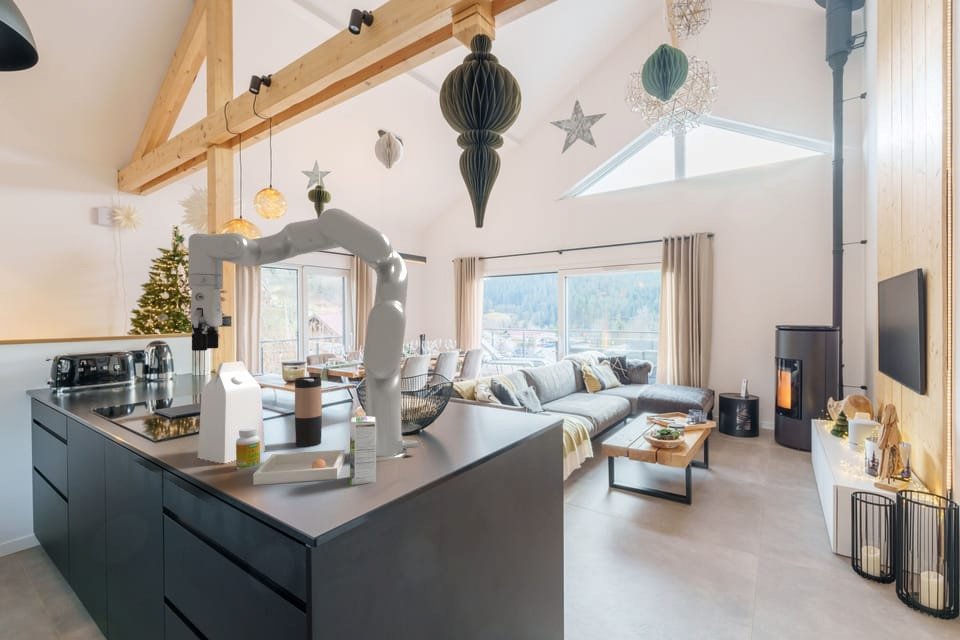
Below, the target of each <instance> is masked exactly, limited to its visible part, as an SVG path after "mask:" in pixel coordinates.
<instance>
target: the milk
mask: <svg viewBox="0 0 960 640" xmlns="http://www.w3.org/2000/svg"><path fill="white" fill-rule="evenodd" d="M262 395H263V393H262V388H261V385H260V384H259V383H258V381H257V380H256V379H255V378H254V376H252V374H251V373H250V372H249V371H248V370H247V368H246V366H245V364H244V361H240V360H239V361H230V362H229V361H228V362H220V363H219V364H218V367H217V370H216V373H215V374H214V375H213V377H212V378H211V379H210V380H209V381H208V382H207V383H206V384H205V385H204V387H203V389H202V392H201V399H200V412H199V413H200V415H199V416H200V417H199V428H198V429H199V433H198V448H197V459H198V458H200V459H199V460H202V459H205V460H204V461H207V460H210V461H209V462H212V461H215V462H214V463H217V462H219V463H218V464H221V463H227V464H229V463H228V462H230V463H232V462H231V461H233V462H235V461H234V460H236V441H237V439H238V438H240V436H239V430H240V429H243V428H249V427H255V428H257V434H256V436H258V437H259V438H260V454H262V453H265V452H266V448H265V447H266V446H265V443H266V442H265V431H264V429H265V428H264V427H265V426H264V414H263V413H264V412H263V411H264V410H263V396H262ZM264 451H265V452H264ZM261 452H262V453H261Z"/></svg>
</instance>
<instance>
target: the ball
mask: <svg viewBox="0 0 960 640" xmlns="http://www.w3.org/2000/svg"><path fill="white" fill-rule="evenodd" d="M325 467H326V463H325V461H324V460H323V459H316V460H315V461H314V462H313V463H312V469H314V468H325Z"/></svg>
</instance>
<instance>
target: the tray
mask: <svg viewBox="0 0 960 640" xmlns="http://www.w3.org/2000/svg"><path fill="white" fill-rule="evenodd" d="M316 459H323V460H324V461H325V463H326V467H325V468H314V469H312V463H313V462H314V461H315V460H316ZM345 461H346V449H336V450H335V449H334V450H319V451H318V450H317V451H305V452H304V451H303V452H301V451H300V452H288V453H285V452H284V453H273V454H271V455H270V456H269V458H267V459H266V460H265V461H264V462H263V463H262V465H260V467H259V468H258V469H257V470H256V471H255V472H254V473H253V475H252V476H253V477H252V479H253V482H252V484H253V486H258V485H271V484H272V485H273V484H284V483H285V484H286V483H287V484H288V483H300V482H312V481H326V480H329V481H330V480H337V479H338V478H339V475H340V473H341V470H342V468H343V465H344V463H345Z"/></svg>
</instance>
